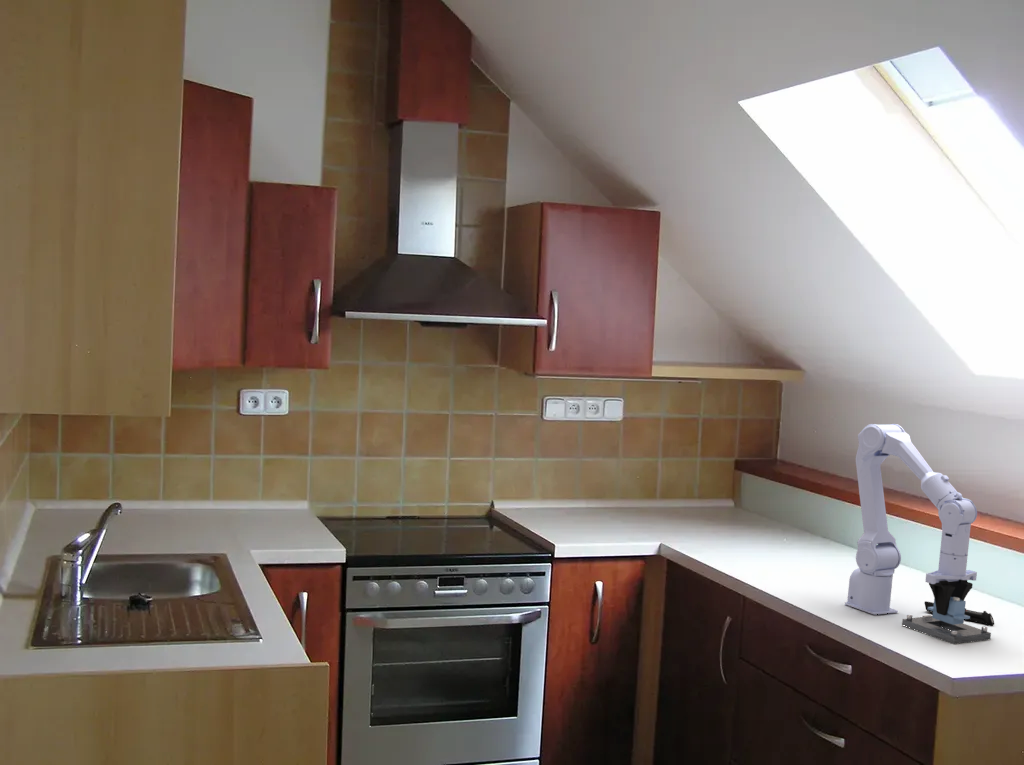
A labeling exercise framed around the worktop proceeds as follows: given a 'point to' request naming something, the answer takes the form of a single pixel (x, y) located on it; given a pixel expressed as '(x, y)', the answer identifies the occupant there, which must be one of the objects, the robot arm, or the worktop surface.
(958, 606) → the servo
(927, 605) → the electric trimmer
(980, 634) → the plate
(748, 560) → the worktop surface
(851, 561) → the worktop surface
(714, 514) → the worktop surface
